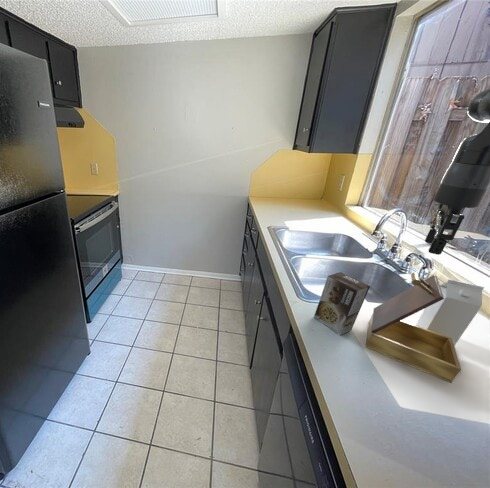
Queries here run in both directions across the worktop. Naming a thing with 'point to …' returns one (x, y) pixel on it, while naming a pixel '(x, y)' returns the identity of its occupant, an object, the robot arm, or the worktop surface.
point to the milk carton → (452, 309)
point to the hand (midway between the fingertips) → (431, 247)
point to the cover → (407, 302)
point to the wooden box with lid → (416, 348)
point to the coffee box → (341, 302)
